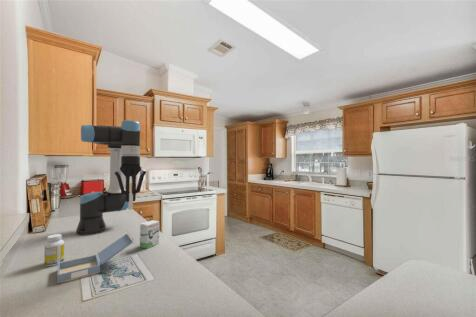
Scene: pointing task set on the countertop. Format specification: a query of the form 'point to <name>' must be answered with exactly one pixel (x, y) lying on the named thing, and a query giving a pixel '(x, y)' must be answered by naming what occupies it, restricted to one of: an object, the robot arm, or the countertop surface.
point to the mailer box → (77, 268)
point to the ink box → (149, 234)
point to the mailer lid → (115, 248)
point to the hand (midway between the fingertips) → (130, 208)
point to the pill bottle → (54, 250)
